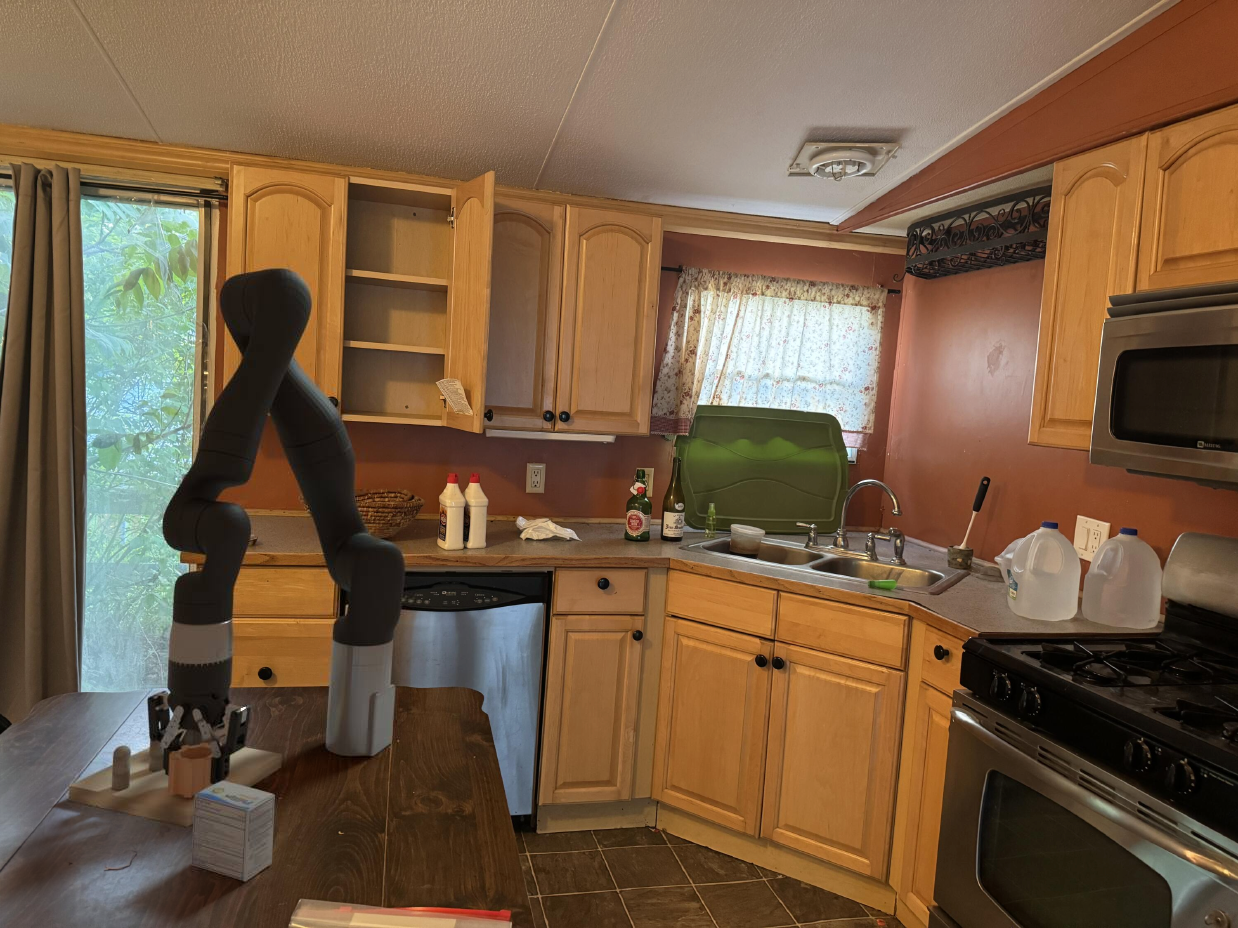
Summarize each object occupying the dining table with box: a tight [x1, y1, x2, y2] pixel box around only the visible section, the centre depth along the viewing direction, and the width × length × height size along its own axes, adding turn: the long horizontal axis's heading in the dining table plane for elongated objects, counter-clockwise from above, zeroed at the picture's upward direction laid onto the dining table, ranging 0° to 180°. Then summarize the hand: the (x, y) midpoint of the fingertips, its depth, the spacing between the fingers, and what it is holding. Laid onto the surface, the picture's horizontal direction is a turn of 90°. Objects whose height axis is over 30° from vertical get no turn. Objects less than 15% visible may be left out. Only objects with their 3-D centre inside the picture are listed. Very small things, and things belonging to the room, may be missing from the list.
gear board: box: [68, 726, 283, 827], centre depth 117 cm, size 18×19×9 cm
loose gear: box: [168, 743, 214, 798], centre depth 112 cm, size 6×6×4 cm
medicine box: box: [190, 781, 276, 882], centre depth 98 cm, size 8×4×9 cm, turn 71°
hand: (195, 777), depth 112 cm, fingers closed on loose gear, 6 cm apart
